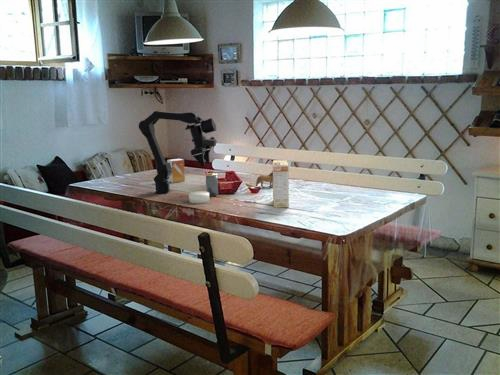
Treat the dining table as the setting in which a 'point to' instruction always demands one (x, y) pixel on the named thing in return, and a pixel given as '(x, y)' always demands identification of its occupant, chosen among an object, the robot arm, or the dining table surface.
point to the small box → (177, 170)
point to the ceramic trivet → (199, 197)
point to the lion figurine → (265, 179)
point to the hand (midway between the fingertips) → (206, 165)
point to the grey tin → (212, 184)
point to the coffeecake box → (280, 183)
